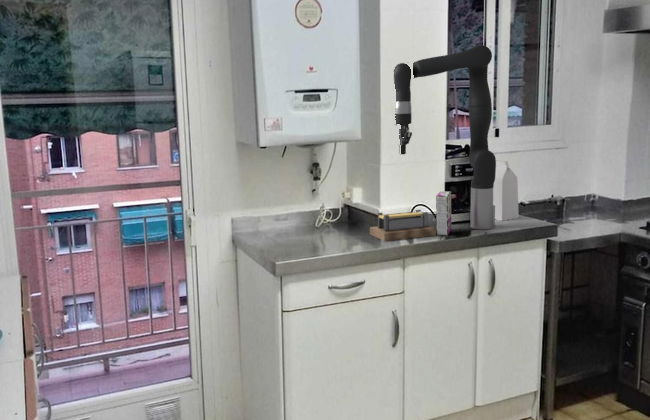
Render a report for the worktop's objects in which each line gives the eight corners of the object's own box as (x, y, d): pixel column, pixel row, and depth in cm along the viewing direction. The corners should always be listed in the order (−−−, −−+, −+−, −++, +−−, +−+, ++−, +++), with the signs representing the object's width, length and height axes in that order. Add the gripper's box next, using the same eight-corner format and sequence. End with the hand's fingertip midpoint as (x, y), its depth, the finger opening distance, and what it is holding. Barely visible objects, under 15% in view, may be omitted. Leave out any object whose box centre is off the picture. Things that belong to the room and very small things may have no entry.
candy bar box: (439, 229, 257) (439, 191, 254) (451, 229, 255) (451, 191, 252) (435, 235, 246) (435, 195, 243) (447, 235, 245) (448, 195, 242)
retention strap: (421, 214, 253) (421, 210, 252) (425, 216, 249) (425, 212, 249) (379, 218, 246) (379, 214, 246) (383, 220, 242) (383, 216, 242)
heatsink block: (419, 223, 255) (419, 208, 254) (428, 227, 248) (428, 211, 247) (377, 228, 249) (377, 212, 248) (386, 231, 241) (385, 215, 240)
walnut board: (419, 228, 259) (419, 221, 258) (435, 235, 246) (435, 227, 245) (369, 234, 251) (369, 227, 251) (384, 241, 238) (384, 233, 238)
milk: (481, 217, 280) (481, 161, 275) (497, 214, 286) (498, 159, 282) (501, 221, 270) (503, 162, 266) (518, 217, 277) (520, 160, 272)
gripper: (418, 112, 247) (418, 154, 250) (403, 112, 260) (403, 152, 263) (401, 113, 245) (401, 155, 248) (387, 112, 257) (387, 153, 260)
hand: (402, 154), depth 255 cm, fingers closed
